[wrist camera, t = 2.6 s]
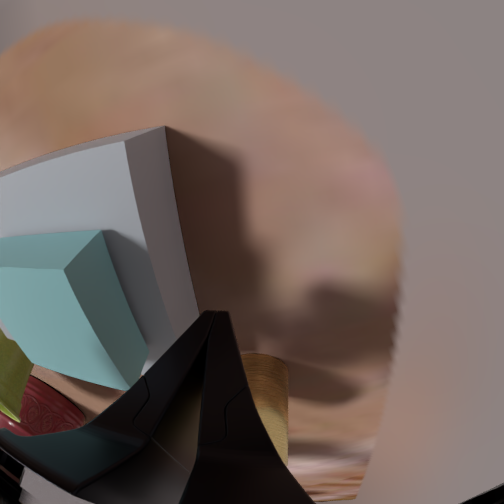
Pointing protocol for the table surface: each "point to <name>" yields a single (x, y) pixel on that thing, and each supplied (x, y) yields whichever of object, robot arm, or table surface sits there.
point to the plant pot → (12, 376)
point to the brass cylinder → (270, 396)
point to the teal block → (70, 307)
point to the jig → (113, 222)
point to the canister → (43, 412)
